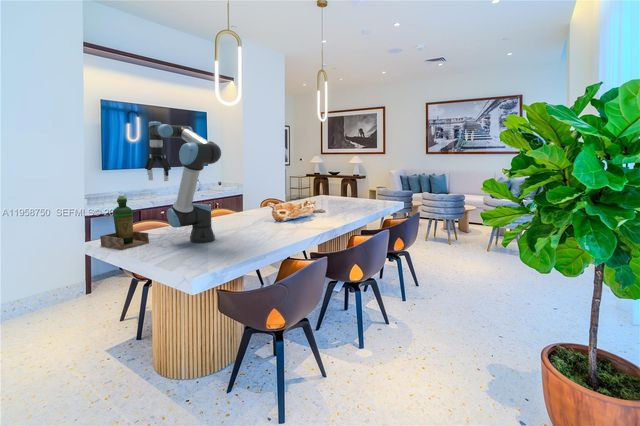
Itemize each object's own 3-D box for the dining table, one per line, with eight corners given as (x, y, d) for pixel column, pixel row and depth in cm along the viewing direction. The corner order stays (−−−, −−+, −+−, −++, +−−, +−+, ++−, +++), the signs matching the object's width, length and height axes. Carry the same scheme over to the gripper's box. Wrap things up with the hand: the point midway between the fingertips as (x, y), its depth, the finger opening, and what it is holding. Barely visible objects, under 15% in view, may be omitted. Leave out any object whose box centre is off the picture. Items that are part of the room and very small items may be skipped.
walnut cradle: (148, 243, 222) (148, 233, 221) (122, 249, 206) (121, 239, 205) (128, 239, 230) (127, 230, 229) (101, 246, 213) (100, 235, 212)
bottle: (126, 245, 211) (123, 197, 207) (110, 244, 213) (106, 196, 209) (139, 241, 222) (135, 195, 217) (123, 240, 224) (120, 194, 219)
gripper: (175, 147, 229) (177, 181, 232) (147, 147, 239) (149, 179, 242) (166, 146, 222) (168, 181, 225) (137, 146, 232) (139, 180, 235)
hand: (158, 180), depth 234 cm, fingers open, 13 cm apart
